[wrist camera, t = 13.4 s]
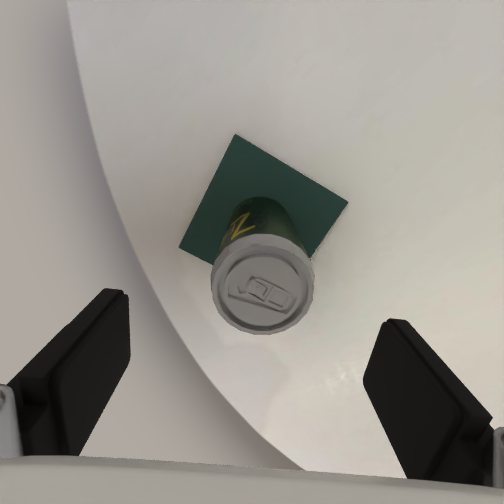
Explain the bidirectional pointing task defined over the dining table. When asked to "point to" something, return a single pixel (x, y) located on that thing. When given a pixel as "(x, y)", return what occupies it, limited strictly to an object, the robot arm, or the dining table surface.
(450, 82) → the dining table surface
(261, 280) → the beer can
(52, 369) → the robot arm
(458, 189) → the dining table surface
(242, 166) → the front mat
